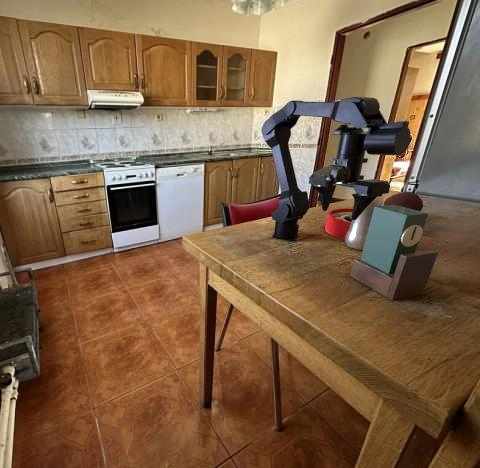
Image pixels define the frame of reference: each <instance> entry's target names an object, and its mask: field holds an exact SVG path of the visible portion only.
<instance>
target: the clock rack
mask: <svg viewBox="0 0 480 468" xmlns="http://www.w3.org/2000/svg"><path fill="white" fill-rule="evenodd" d="M438 255H439V251H437V250H434V249H428V250H423V251H415V253H409V254H402V255H400V258H399V261H398V264H397V267H396V271H395V273H391V274H388V273H386V272H384V271H382V270H380V269H378V268H376V267H374V266H372V265H371V264H369V263H367V262H365V261H363V260H361V258H357V259H356V258H355V259H354V260H353V263H352V267H351V270H350V275H349V277H351V278H353V279H355V280H356V281H358V282H360V283H362V284H363V285H365V286H367V287H369V288H370V289H372V290H373V291H375V292H377V293H379V294H381V296H384V297H386V298H388V299H389V300H392V301H397V300H400V299H406V298H411V297H416V296H422V295H423V294H424V292H425V289H426V286H427V284H428V282H429V278H430V276H431V274H432V271H433V269H434V266H435V263H436V261H437V259H438Z"/></svg>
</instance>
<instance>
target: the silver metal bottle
mask: <svg viewBox="0 0 480 468" xmlns="http://www.w3.org/2000/svg"><path fill="white" fill-rule="evenodd" d="M354 201H355V200H354V199H353V202H354ZM383 205H384V198H383V195H382V196H379V197H377V198H376V199H374V200H373V201H372V202H371V203H370V204H369V205H368V206H367V208H366V209H365V210H364V211H363V212H362V213H361V215H360V216H359V217H358V218H357V219H356V220H352V222H351V225H350V228H349V231H348V232H347V234H346V237H345V239H344V242H345V245H346V246H347V247H349V248H351V249H354V250H360V251H363V248H364V244H365V240H366V237H367V233H368V229H369V225H370V222H371V218H372V214H373V210H374V207H375V206H383Z"/></svg>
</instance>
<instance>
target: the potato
mask: <svg viewBox="0 0 480 468" xmlns="http://www.w3.org/2000/svg"><path fill="white" fill-rule="evenodd" d="M385 205H397V206H401V207H405V208H409V209H413V210H417V211H421V212H422V210H423V207H424V203H423V200H422V198H421V197H420V196H419V195H418V194H417V193H415V192H411V191H403V192H402V191H401V192H399V193H396V194H395V193H394V194H393V195H391V196H389V197H387V198H386V199H385V200H384V201H383V204H382V206H385Z"/></svg>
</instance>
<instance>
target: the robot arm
mask: <svg viewBox="0 0 480 468" xmlns="http://www.w3.org/2000/svg"><path fill="white" fill-rule="evenodd" d="M380 105H381V104H380V102H379V100H378V98H376V97H368V96H367V97H366V96H361V97H360V96H352V97H346V98H342V99H338V100H335V101H304V100H298V99H297V100H292V99H291V100H290V101H288V102H287V103H285V104H284V106H283V107H282V108H280V109H278V110H277V111H276V112H274V113H273V114H271V115H270V116H269V118H268V119H266V120H265V121H264V122H263V124H262V127H261V130H260V131H261V135H262V137H263V139H264V142H265V143H266V145H267V146H268V147H269V148H270V149H271V151H272V156H273V160H274V165H275V169H276V170H275V171H276V175H277V178H278V183H279V187H280V194H279V198H278V201H277V202H278V207H277V208H276V209H274V211H272V212H271V213H270V214H271V220H273V221H275V223H274V230H273V231H274V232H273V235H272V236H271V237H272V238H273V239H278V240H284V241H288V242H293V241H294V240H295V239H296V238H298V236H299V235H298V234H299V231H300V230H299V228H300V224H299V220H303V218H304V216H305V215H306V214H307V213H308V211H309V210H310V204H311V201H310V200H309V195H308V192H307V191H306V190H305V191H302V190H301V189H300V188H299V185H298V181H297V177H296V172H295V168H294V164H293V159H292V154H291V149H290V146H289V142H290V140H291V137H292V129H293V128H294V127H296V125H297V123H298V121H299V118H300V117H314V118H327V119H330V120H332V121H334V122H337V123H339V124H340V125H339V126H338V128H336V129H334V130H333V131H332V132H331V135H332V136H339V140H338V145H337V152H336V157H335V158H331V160H330V163H329V165H327V166H324V167H322V168H320V169H318V170H316V171H314V172H313V173H311V174H310V176H309V177H308V184H309V185H311V187H312V188H313V189H315V190H316V191H317V193H318V195H319V199H320V204H321V209H322V211H323V212H327V211H328V209H329V207H330V204H331V203H332V199H333V197H334V194H335V191H336V189H337V186H340V187H345V188H346V187H347V188H351V189H353V190H354V192H355V193H351V196H352V197H353V207H352V208H353V211H352V220H356V219H357V218H358V217H359V216H360V215H361V213H362V212H363V211H364V210H365V209H366V208H367V206H368V205H369V204H370V203H371V202H372V201H373V200H374V199H376V198H377V197H379V196H382V197H383V195H388V194H390V191H391V184H390V182H389V181H388V180H382V179H376V178H370V179H365V175H362V174H361V173H362V169H363V164H367V163H368V161H369V158H368V157H367V158H366V157H365V156H366V153H367V155H370V156H398V157H399V156H403V155H404V154H405V152H406V151H407V150H408V148H409V146H410V144H411V143H412V137H411V136H412V135H411V130H410V128H409V125H410V121H409V120H403V121H401V120H400V121H394V122H388V121H386V119H385V117H384V115H383V113H382V112H381V110H380V109H381V106H380ZM348 125H349V126H350V125H351V127H349V126H348ZM364 129H367V131H364ZM354 200H355V201H354Z"/></svg>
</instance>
